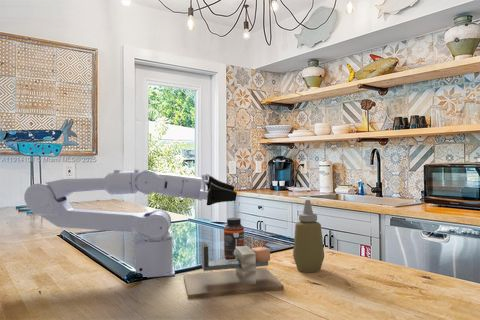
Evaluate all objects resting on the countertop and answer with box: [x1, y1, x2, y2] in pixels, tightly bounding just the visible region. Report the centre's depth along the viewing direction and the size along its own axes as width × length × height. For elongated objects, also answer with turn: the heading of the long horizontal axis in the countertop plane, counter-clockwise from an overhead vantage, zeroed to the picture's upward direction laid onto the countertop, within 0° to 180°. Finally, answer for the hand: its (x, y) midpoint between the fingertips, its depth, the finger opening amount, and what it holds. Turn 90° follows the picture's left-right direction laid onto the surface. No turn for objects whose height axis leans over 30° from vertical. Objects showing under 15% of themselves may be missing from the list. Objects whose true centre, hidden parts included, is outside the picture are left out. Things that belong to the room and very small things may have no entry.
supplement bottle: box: [223, 217, 245, 259], centre depth 110 cm, size 6×6×11 cm
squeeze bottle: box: [292, 199, 325, 273], centre depth 96 cm, size 8×8×18 cm
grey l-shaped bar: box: [200, 241, 269, 272], centre depth 87 cm, size 15×5×6 cm, turn 102°
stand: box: [183, 245, 285, 299], centre depth 87 cm, size 21×14×8 cm, turn 102°
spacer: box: [250, 246, 271, 262], centre depth 88 cm, size 4×4×2 cm
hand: (234, 193), depth 98 cm, fingers open, 7 cm apart
